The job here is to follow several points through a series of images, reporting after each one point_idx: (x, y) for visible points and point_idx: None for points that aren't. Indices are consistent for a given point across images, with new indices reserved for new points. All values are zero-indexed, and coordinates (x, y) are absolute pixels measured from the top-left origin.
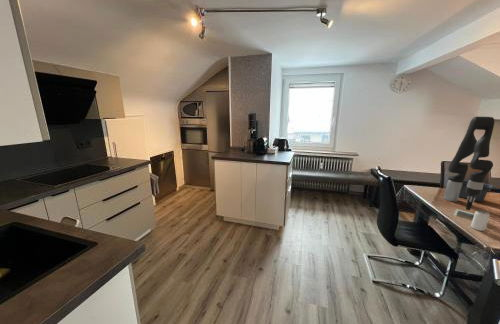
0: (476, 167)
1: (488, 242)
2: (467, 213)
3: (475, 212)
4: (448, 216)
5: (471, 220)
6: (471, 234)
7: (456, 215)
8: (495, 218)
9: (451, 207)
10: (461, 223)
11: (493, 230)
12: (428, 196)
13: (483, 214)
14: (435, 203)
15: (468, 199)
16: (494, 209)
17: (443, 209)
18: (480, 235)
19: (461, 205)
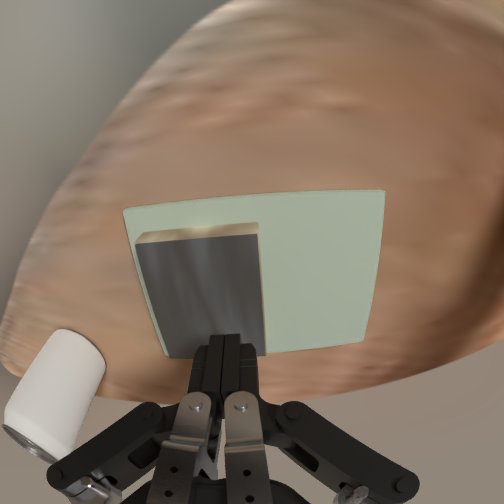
0: None
1: (15, 365)
2: (247, 312)
3: (8, 412)
4: (80, 186)
5: (158, 331)
6: (3, 326)
7: (141, 234)
8: (376, 385)
9: (410, 145)
10: (51, 284)
11: (144, 398)
12: (492, 2)
13: (16, 436)
14: (388, 10)
15: (55, 487)
16: (500, 338)
17: (255, 84)
18: (29, 353)
19: (499, 213)
